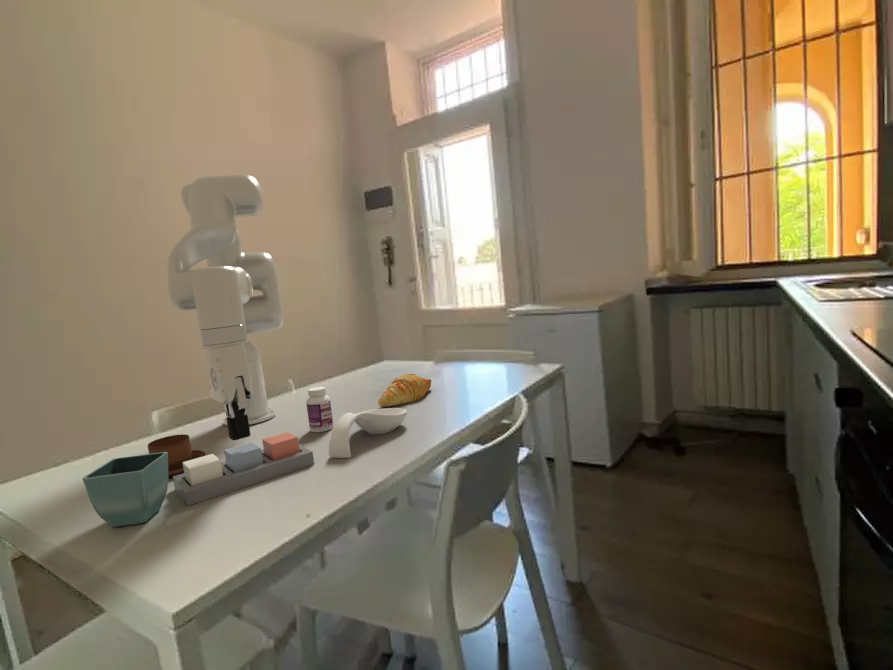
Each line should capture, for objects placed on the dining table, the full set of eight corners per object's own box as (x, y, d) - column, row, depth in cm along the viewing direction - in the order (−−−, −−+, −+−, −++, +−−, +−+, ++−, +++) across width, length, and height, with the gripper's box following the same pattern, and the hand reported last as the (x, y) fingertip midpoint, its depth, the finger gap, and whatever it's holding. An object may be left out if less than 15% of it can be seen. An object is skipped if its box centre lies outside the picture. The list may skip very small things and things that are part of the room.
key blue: (226, 465, 96) (224, 450, 96) (254, 457, 99) (251, 442, 99) (234, 472, 92) (232, 456, 92) (263, 463, 95) (260, 447, 95)
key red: (264, 454, 100) (262, 439, 100) (289, 446, 103) (287, 432, 103) (274, 460, 96) (271, 444, 96) (299, 452, 99) (297, 437, 99)
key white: (185, 478, 92) (182, 462, 91) (215, 469, 95) (212, 453, 94) (192, 486, 88) (189, 469, 87) (223, 476, 91) (220, 459, 90)
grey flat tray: (175, 489, 93) (172, 476, 93) (293, 452, 106) (291, 441, 106) (188, 505, 85) (185, 491, 85) (314, 463, 99) (312, 451, 98)
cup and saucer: (143, 468, 107) (138, 439, 106) (207, 454, 111) (202, 426, 111) (134, 489, 96) (128, 456, 95) (206, 472, 100) (201, 441, 100)
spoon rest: (370, 421, 124) (367, 392, 123) (416, 421, 120) (413, 391, 119) (314, 459, 102) (309, 423, 101) (368, 461, 98) (363, 424, 97)
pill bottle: (327, 432, 118) (322, 390, 116) (306, 433, 119) (300, 392, 118) (337, 425, 123) (332, 385, 122) (316, 425, 124) (311, 386, 123)
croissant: (390, 423, 132) (398, 397, 129) (362, 403, 136) (369, 377, 133) (438, 399, 149) (446, 376, 146) (412, 382, 153) (419, 359, 150)
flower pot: (123, 509, 87) (113, 457, 85) (177, 502, 87) (168, 450, 86) (91, 536, 78) (80, 478, 77) (153, 528, 78) (142, 470, 77)
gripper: (191, 339, 96) (207, 436, 98) (213, 341, 84) (231, 452, 86) (233, 333, 100) (248, 425, 103) (259, 334, 89) (275, 439, 91)
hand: (240, 437), depth 94 cm, fingers closed
